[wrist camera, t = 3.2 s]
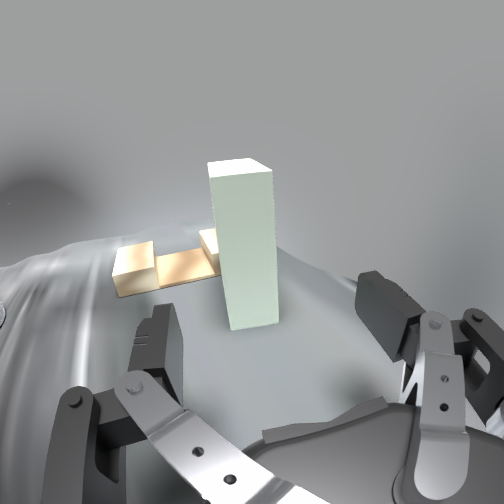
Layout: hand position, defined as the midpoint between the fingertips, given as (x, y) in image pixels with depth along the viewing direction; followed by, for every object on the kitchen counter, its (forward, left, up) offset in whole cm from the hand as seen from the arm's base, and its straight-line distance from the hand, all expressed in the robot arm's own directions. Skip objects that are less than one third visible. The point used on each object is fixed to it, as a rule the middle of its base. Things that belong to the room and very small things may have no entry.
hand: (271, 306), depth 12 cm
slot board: (-12, +15, -7) cm, 20 cm away
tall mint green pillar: (-4, +10, -7) cm, 12 cm away
